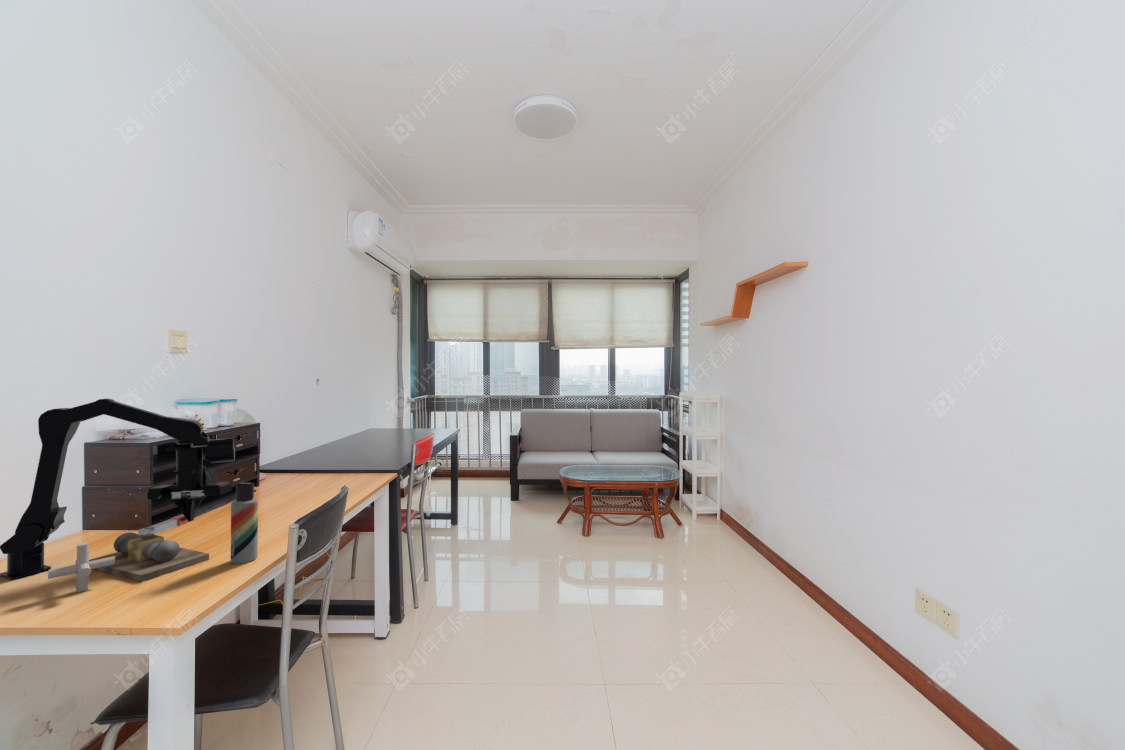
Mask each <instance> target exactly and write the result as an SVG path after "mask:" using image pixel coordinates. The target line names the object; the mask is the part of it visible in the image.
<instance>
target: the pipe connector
mask: <svg viewBox="0 0 1125 750" xmlns="http://www.w3.org/2000/svg"><path fill="white" fill-rule="evenodd" d="M89 553H90V543H89V542H84V543H83V542H81V543H79V544H76V560H75V562H74V563H75V564H72V565H68V566H67V565H66V566H63V567H58V568H53V569H49V570H47V580H50V579H54V578H59V577H64V576H68V575H72V574H76V585H75V586H76V589H75V591H76V592H77V593H80V592H84V591H87V590H89V578H90V577H89V575H90V574H91V572H92V570H95V568H100V567H104V566H108V565H113V564H115V556H113V557H108V558H104V559H99V560H94V561H90V562H89V560H90V554H89Z"/></svg>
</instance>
